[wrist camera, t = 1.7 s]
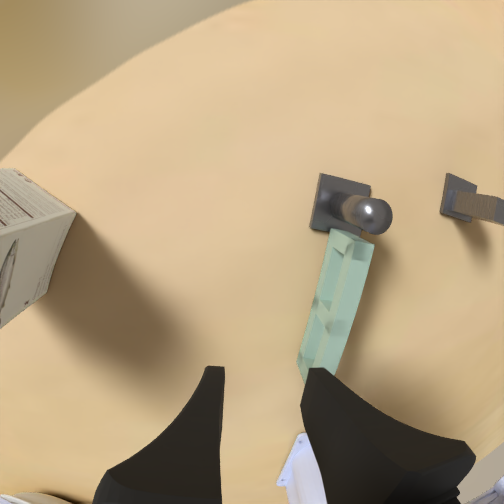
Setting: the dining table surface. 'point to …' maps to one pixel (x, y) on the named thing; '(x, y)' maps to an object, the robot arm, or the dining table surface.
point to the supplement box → (27, 241)
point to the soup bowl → (33, 498)
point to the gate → (335, 301)
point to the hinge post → (348, 207)
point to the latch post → (470, 202)
